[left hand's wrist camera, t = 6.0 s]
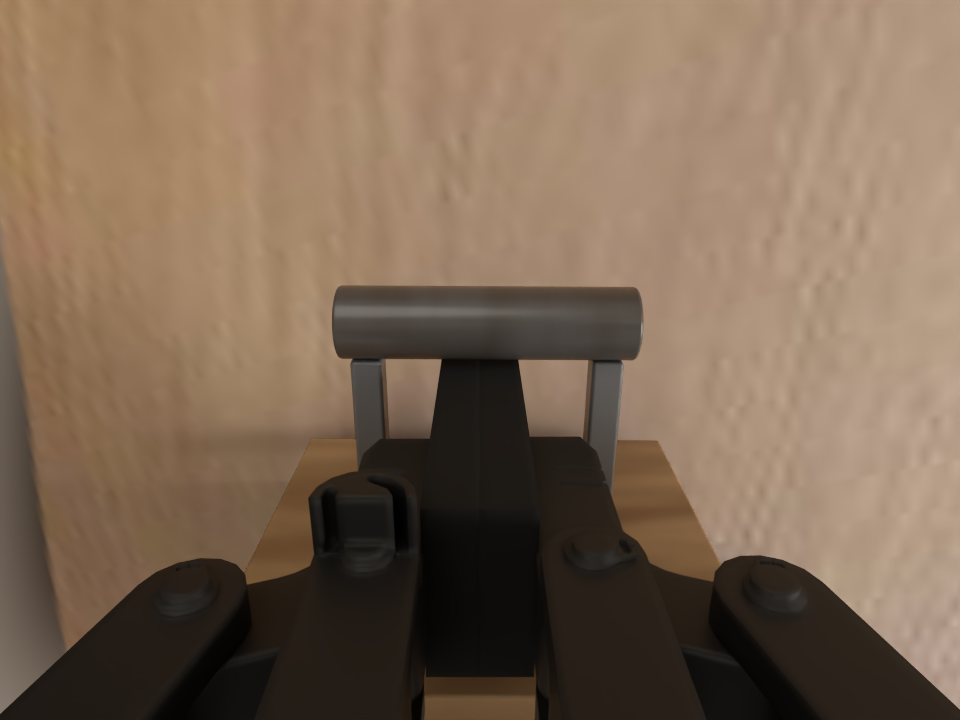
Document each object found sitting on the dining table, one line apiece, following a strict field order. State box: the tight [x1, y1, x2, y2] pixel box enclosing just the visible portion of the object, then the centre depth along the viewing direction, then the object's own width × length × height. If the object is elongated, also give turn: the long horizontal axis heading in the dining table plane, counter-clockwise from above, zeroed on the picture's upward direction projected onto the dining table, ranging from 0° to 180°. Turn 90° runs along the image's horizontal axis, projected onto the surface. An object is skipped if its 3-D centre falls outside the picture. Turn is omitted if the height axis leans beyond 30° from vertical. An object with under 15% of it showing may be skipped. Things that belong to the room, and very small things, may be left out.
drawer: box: [244, 286, 721, 720], centre depth 17 cm, size 21×10×9 cm, turn 0°
